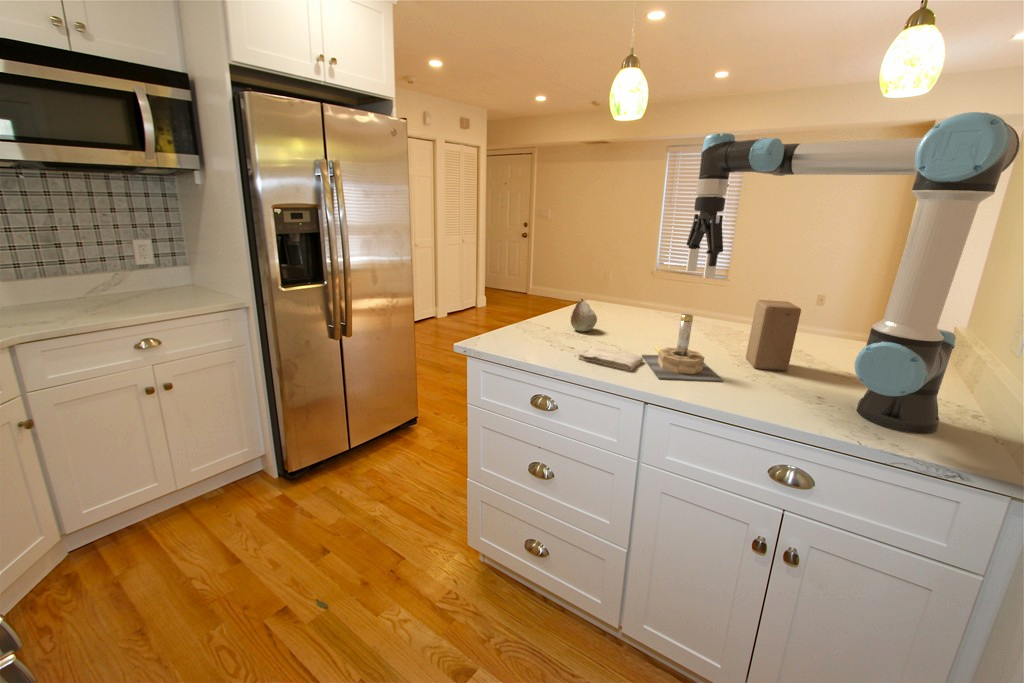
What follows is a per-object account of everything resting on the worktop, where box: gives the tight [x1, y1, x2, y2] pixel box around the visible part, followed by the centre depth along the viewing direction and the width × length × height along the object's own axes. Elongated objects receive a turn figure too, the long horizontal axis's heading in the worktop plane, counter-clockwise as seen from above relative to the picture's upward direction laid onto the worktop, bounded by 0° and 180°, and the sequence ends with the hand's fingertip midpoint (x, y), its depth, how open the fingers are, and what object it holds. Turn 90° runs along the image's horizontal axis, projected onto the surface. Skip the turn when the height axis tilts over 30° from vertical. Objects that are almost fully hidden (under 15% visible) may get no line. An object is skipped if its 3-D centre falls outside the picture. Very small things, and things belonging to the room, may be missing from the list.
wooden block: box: [745, 299, 802, 372], centre depth 142 cm, size 10×10×20 cm
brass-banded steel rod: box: [676, 313, 694, 357], centre depth 137 cm, size 3×3×16 cm
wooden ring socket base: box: [641, 347, 724, 383], centre depth 139 cm, size 20×18×5 cm
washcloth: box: [577, 345, 644, 372], centre depth 144 cm, size 12×18×3 cm, turn 57°
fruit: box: [570, 298, 598, 333], centre depth 175 cm, size 10×9×12 cm
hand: (699, 274), depth 131 cm, fingers open, 13 cm apart
